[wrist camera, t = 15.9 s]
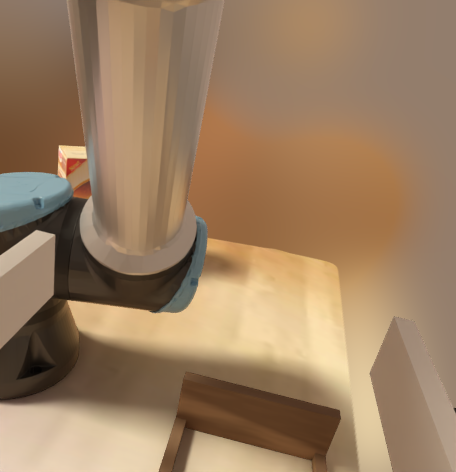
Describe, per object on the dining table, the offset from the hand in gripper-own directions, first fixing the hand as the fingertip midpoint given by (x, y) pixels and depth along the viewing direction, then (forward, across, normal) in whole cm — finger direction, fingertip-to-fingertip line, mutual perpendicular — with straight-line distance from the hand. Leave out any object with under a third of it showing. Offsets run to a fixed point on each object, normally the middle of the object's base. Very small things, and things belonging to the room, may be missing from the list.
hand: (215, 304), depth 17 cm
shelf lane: (+17, +6, -32) cm, 37 cm away
